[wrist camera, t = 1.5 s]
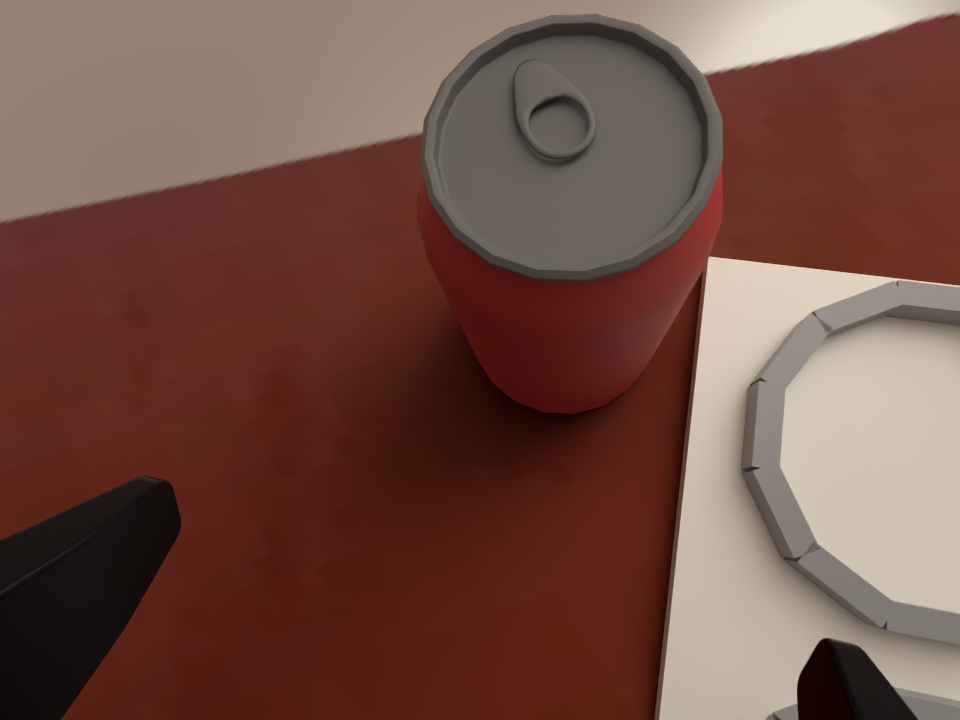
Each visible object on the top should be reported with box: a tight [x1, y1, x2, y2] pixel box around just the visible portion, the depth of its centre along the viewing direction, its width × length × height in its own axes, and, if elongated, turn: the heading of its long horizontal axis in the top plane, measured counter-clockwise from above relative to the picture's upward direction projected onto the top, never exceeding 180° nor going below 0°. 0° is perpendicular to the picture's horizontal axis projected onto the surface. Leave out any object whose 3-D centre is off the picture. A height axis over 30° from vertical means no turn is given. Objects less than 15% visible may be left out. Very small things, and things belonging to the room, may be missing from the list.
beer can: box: [418, 14, 723, 414], centre depth 17 cm, size 7×7×12 cm
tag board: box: [654, 257, 960, 720], centre depth 18 cm, size 24×14×3 cm, turn 170°
